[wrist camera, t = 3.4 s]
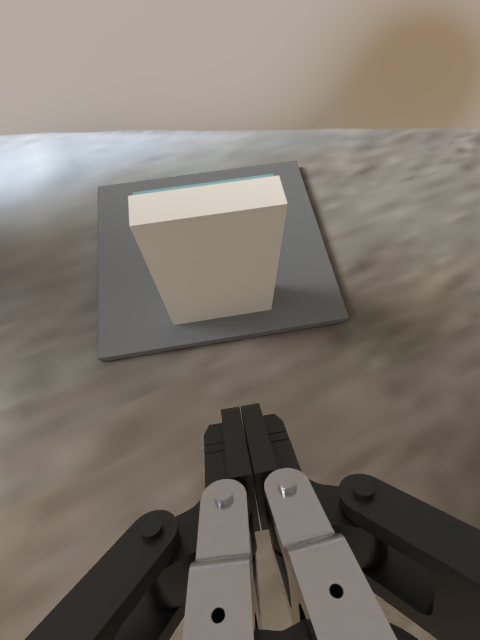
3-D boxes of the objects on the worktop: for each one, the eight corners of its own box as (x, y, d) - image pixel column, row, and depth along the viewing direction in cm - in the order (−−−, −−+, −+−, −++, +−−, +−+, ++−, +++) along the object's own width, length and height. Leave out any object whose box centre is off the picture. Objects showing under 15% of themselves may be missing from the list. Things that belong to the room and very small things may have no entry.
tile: (173, 325, 28) (129, 226, 17) (170, 299, 29) (127, 190, 18) (271, 309, 29) (287, 203, 18) (265, 284, 30) (277, 169, 19)
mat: (101, 361, 28) (98, 358, 27) (101, 193, 35) (97, 186, 35) (346, 321, 29) (348, 317, 28) (295, 166, 37) (296, 160, 36)
